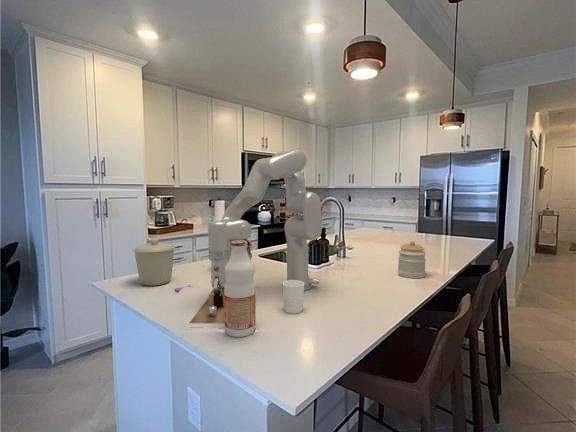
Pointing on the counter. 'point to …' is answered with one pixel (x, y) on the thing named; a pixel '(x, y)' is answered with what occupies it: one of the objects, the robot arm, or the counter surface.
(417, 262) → the jar
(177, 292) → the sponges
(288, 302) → the white cup
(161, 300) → the counter surface
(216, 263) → the robot arm
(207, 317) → the walnut board
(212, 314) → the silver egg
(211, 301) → the collar
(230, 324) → the fruit juice
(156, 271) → the canister
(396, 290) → the counter surface
